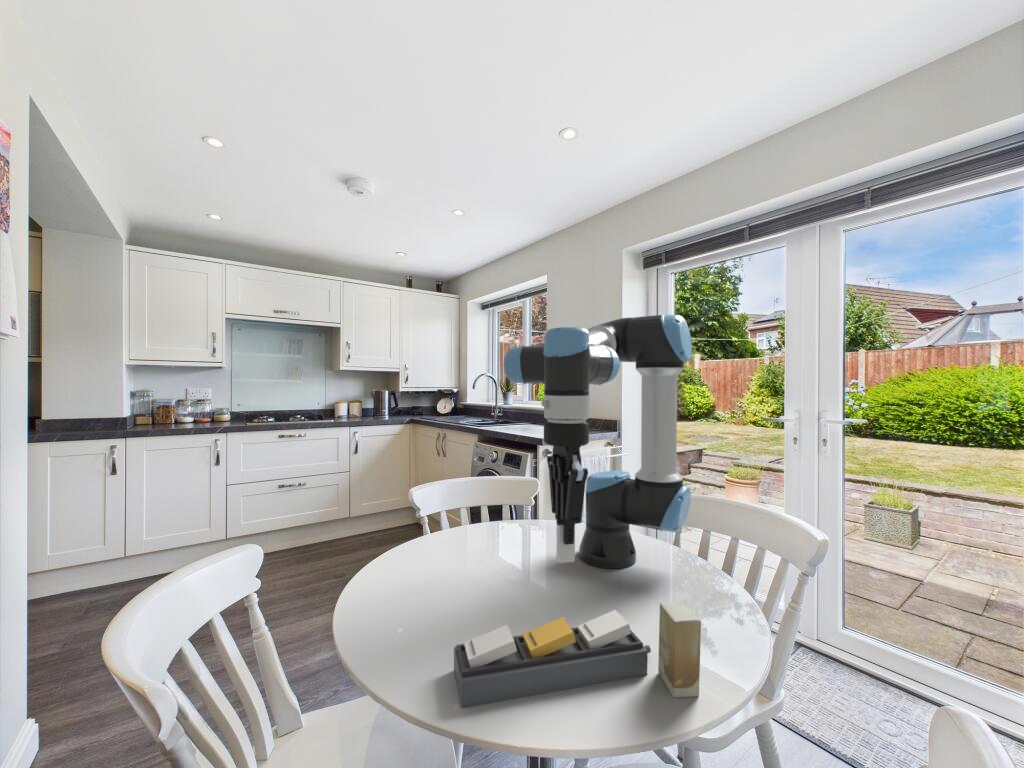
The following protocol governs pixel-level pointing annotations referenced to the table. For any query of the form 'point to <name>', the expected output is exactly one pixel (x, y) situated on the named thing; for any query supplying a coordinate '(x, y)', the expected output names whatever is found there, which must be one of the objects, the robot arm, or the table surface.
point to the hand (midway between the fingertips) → (565, 560)
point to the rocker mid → (549, 638)
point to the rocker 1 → (490, 647)
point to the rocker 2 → (604, 630)
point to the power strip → (547, 669)
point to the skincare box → (679, 649)
